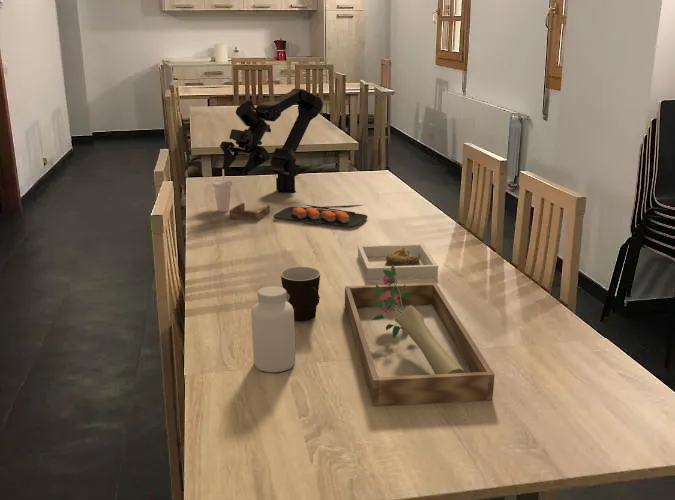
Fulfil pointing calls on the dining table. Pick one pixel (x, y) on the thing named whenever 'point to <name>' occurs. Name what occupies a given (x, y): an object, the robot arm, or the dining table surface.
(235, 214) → the rest
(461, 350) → the flower tray
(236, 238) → the dining table surface
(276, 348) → the pill bottle
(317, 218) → the sushi plate
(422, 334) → the flower vase
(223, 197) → the smoothie
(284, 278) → the coffee mug
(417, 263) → the brown round lump
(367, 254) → the bagel tray
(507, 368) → the dining table surface
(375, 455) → the dining table surface
